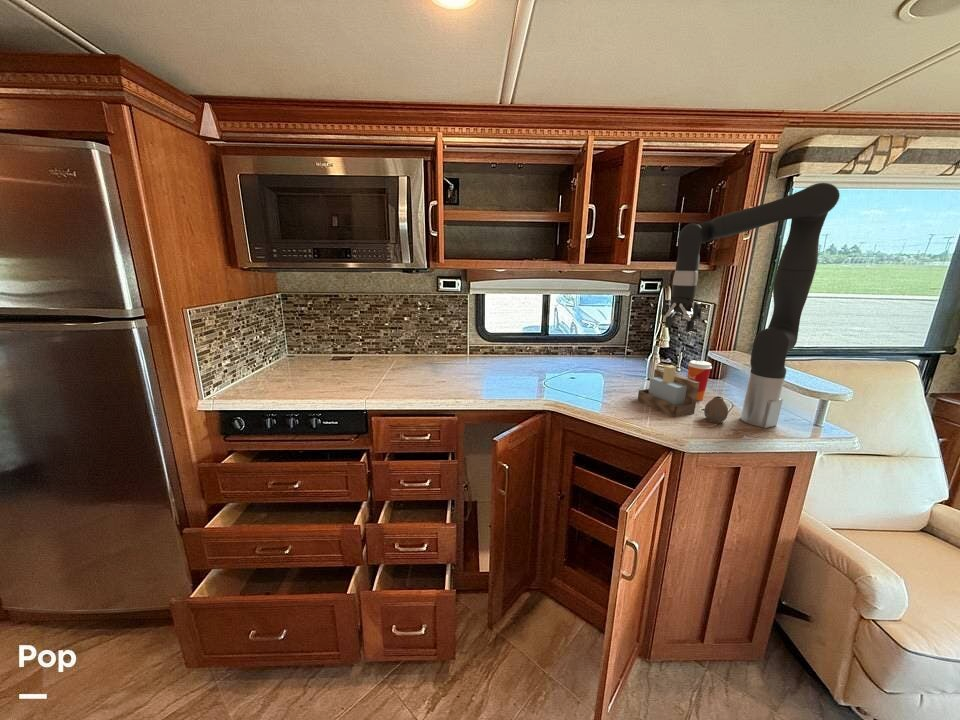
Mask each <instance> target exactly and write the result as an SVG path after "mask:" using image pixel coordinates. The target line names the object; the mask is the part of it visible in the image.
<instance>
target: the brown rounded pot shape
mask: <svg viewBox="0 0 960 720" xmlns="http://www.w3.org/2000/svg"><path fill="white" fill-rule="evenodd" d="M703 412H704V417H705V419H706V420H707V421H708V422H710V423H713V424H721V423H723V422H724V421H726V419H727V418H728V416H729V407H728V405H727V403H726V402H725V400H724V397H722V396H718V395H716V396H714V397H713V398H712V399H711V400H709V401H708V402H707V403H706V404H705V406H704V411H703Z"/></svg>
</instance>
